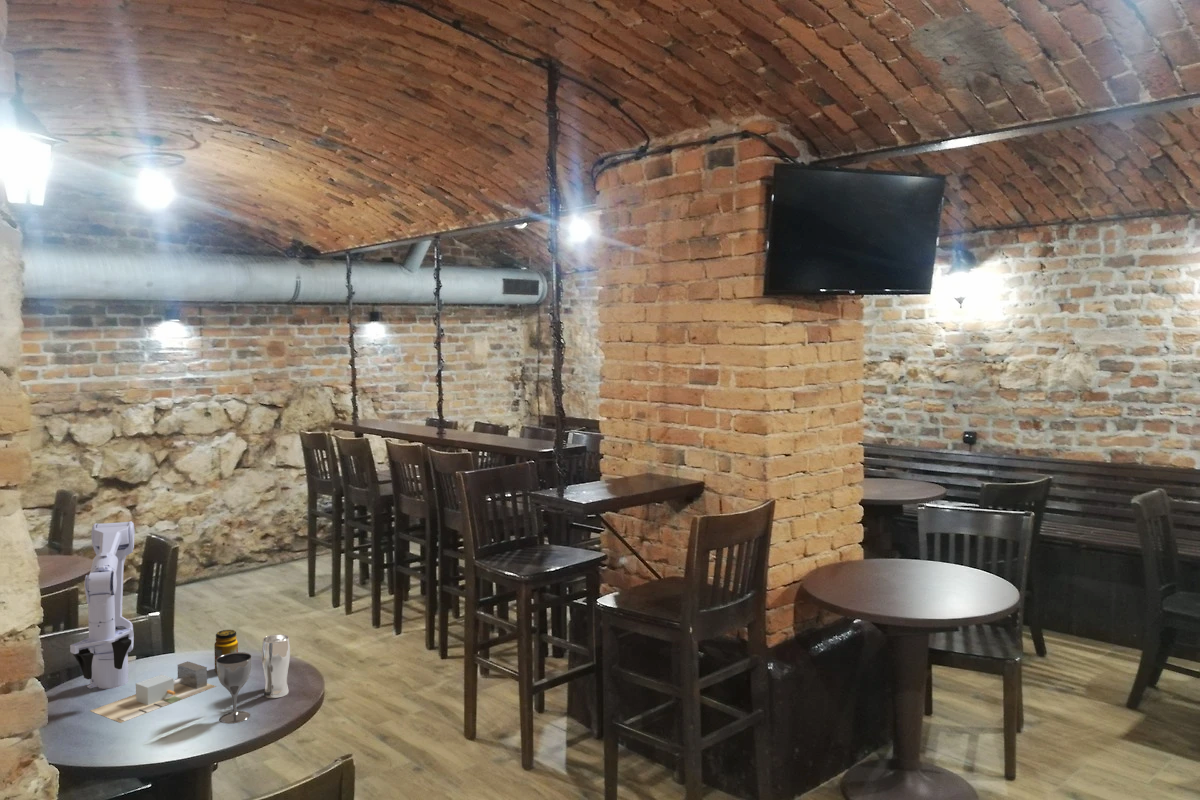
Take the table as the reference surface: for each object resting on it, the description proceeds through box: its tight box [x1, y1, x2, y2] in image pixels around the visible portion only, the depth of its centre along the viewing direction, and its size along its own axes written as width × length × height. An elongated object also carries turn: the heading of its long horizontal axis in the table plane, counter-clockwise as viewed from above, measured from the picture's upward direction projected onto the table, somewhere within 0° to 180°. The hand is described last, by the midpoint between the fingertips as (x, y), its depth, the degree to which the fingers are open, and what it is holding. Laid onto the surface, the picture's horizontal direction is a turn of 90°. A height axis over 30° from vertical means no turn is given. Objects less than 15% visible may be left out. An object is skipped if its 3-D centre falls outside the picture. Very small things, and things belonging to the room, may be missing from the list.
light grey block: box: [135, 674, 183, 705], centre depth 223 cm, size 7×11×4 cm
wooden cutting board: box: [89, 682, 217, 724], centre depth 222 cm, size 13×26×1 cm, turn 150°
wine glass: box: [216, 651, 252, 724], centre depth 214 cm, size 8×8×15 cm
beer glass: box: [261, 633, 291, 699], centre depth 229 cm, size 7×7×15 cm
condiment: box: [214, 629, 239, 674], centre depth 241 cm, size 7×8×12 cm
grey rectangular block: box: [177, 661, 208, 689], centre depth 231 cm, size 8×3×5 cm, turn 60°
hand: (103, 673), depth 216 cm, fingers open, 7 cm apart
